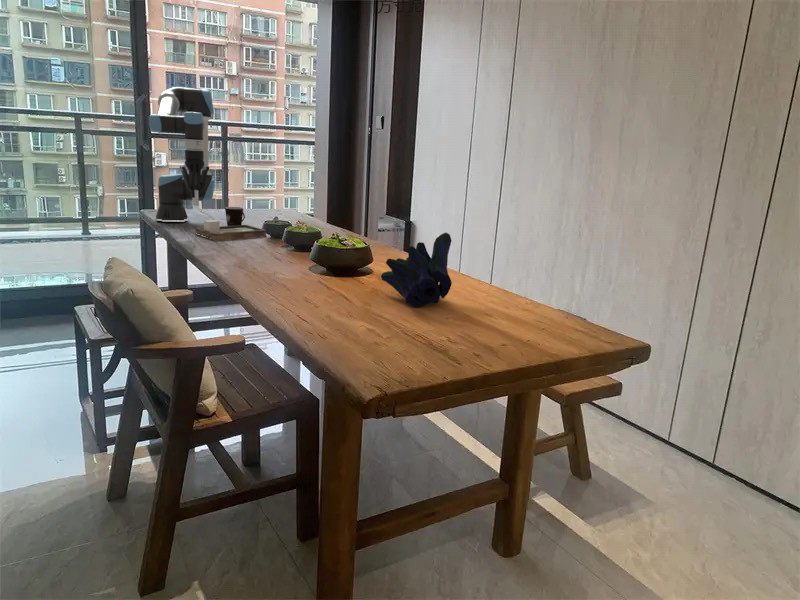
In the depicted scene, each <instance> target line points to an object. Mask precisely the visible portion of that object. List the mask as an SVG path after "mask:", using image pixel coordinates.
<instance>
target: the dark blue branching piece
mask: <svg viewBox="0 0 800 600" xmlns="http://www.w3.org/2000/svg"><path fill="white" fill-rule="evenodd" d="M451 244H452V238H451V234H450V233H448V232H444V233H442V234H440V235H439V236H437V237H435V240H434V242H433V247H432V253H431V256H430V254H429V253H428V250H427V248H426V245H425V242H422V241H419V242H417V244H416V246H415V247H414V246H413V245H409V246H408V247H407V253H408V257H406V259H404V258H397V259H394V258H387V259H386V261H385V264H386V265H387V266H388V267H389V269H390V270H388V271H385V272H382V273H381V275H380V277H381V281H384V282H385V283H387V284H388V285H390V286H391V287H392V288H393V289H394V290H395V291H397V293H398V294H399V295H400V296H401V297H402V298H403V299H404V300H405V303H406V304H408V305H410V306H411V307H413V308H415V309H417V308H421V307H423V306H425V305H427V304H429V303H432V304H434V305H435V304H438V303H439V301H440V298H441V299H445V298H446V297H447V295H448V294H449V292H450V291H451V287H452V284H453V282H452V279H451V277H450V274H449V272H448V264H449V263H448V260H449V259H448V258H449V252H450V247H451Z"/></svg>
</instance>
